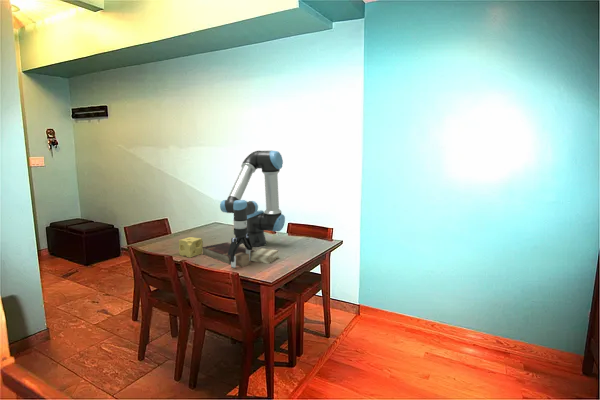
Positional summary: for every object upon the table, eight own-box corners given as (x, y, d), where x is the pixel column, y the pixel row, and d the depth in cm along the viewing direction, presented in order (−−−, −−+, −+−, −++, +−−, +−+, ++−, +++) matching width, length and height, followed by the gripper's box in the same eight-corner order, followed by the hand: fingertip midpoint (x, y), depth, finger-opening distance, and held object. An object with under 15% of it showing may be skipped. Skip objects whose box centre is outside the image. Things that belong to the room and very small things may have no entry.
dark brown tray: (255, 258, 215) (255, 250, 214) (230, 265, 201) (229, 256, 201) (227, 248, 235) (227, 241, 234) (202, 254, 221) (202, 247, 220)
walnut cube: (234, 264, 201) (234, 254, 200) (241, 262, 206) (241, 252, 205) (242, 266, 197) (241, 256, 197) (249, 264, 202) (249, 254, 202)
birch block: (251, 261, 208) (250, 253, 207) (261, 255, 219) (261, 248, 218) (268, 264, 203) (268, 255, 203) (278, 258, 214) (278, 250, 214)
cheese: (190, 258, 213) (189, 241, 212) (178, 255, 219) (177, 239, 217) (203, 253, 222) (202, 238, 220) (191, 251, 227) (191, 236, 226)
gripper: (231, 232, 186) (232, 271, 189) (258, 224, 208) (258, 258, 211) (220, 231, 190) (221, 268, 193) (248, 223, 212) (248, 257, 215)
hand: (241, 263), depth 202 cm, fingers open, 13 cm apart
